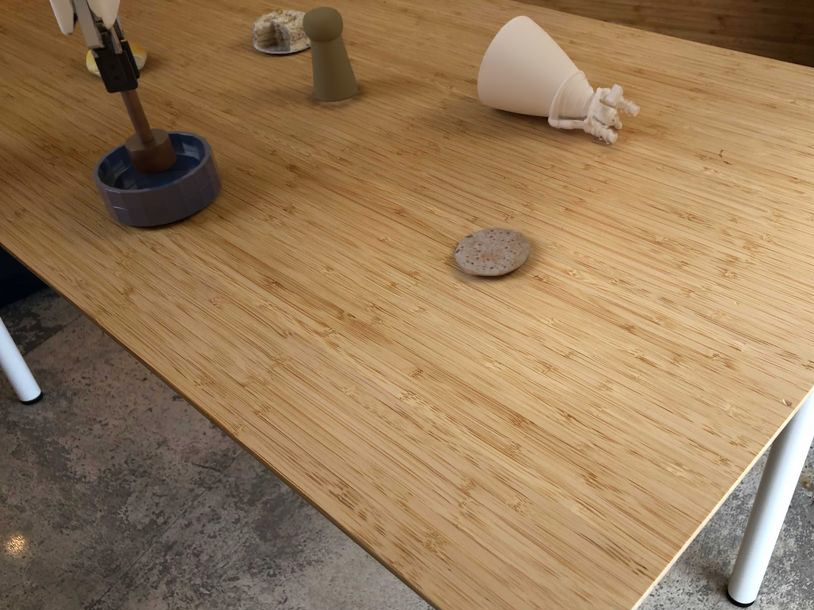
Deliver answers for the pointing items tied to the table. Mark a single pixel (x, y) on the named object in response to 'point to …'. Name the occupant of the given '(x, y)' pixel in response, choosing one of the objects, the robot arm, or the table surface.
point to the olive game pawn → (329, 55)
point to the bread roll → (137, 53)
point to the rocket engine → (545, 82)
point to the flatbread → (492, 251)
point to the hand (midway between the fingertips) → (124, 84)
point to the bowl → (159, 183)
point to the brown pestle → (146, 139)
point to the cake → (280, 32)
